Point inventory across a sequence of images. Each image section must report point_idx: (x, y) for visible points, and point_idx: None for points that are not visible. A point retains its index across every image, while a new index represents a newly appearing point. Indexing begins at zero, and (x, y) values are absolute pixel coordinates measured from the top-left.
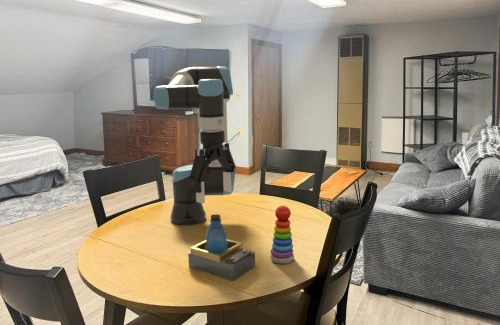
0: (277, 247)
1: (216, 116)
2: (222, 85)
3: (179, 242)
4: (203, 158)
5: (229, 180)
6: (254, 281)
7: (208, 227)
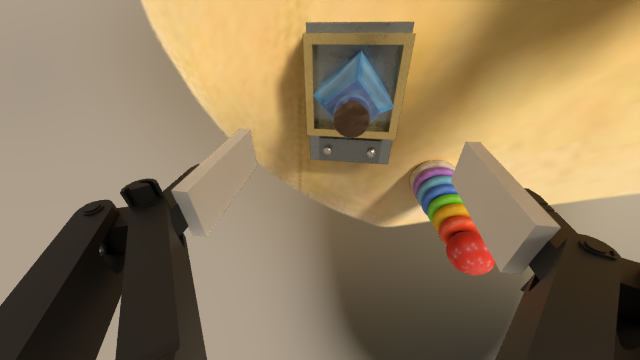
0: (419, 195)
1: None
2: None
3: None
4: None
5: (477, 223)
6: (333, 172)
7: (351, 75)
